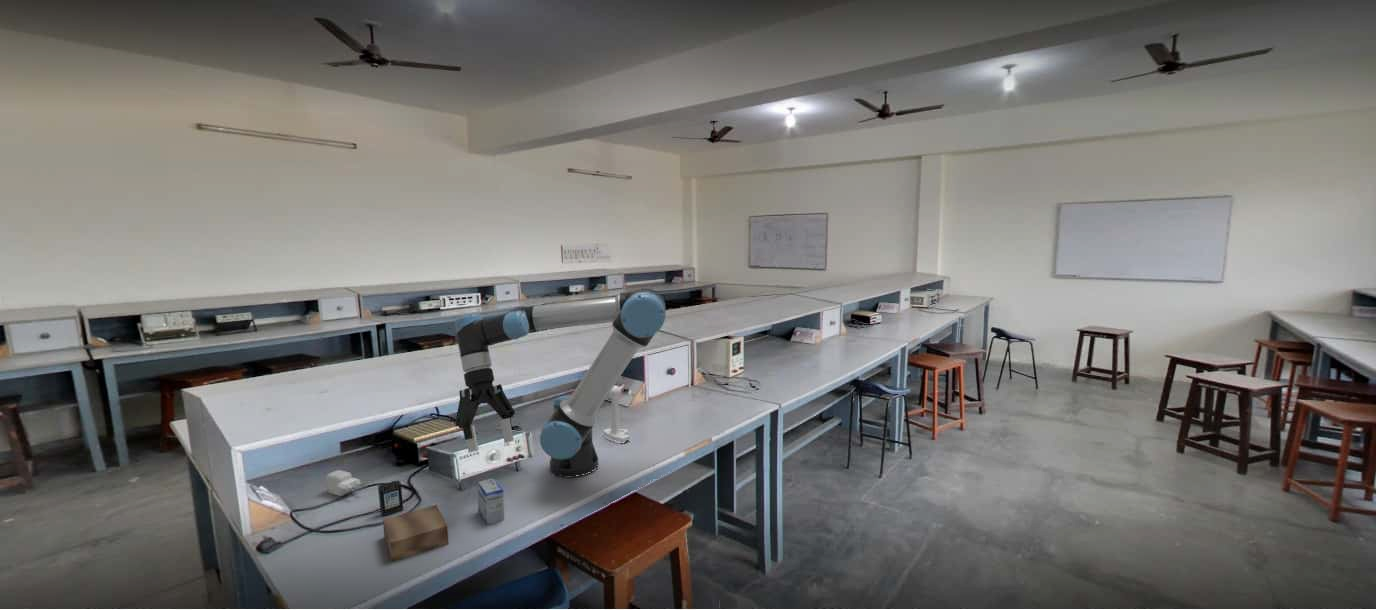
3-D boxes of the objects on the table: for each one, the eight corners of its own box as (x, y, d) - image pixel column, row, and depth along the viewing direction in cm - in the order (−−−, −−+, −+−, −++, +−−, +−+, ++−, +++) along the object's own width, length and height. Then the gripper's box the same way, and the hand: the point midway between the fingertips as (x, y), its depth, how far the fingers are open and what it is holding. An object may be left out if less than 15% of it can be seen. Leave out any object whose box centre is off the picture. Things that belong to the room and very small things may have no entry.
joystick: (600, 436, 194) (600, 383, 191) (616, 431, 199) (616, 379, 196) (620, 445, 186) (620, 390, 183) (636, 439, 192) (636, 385, 189)
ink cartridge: (382, 517, 138) (379, 488, 137) (380, 513, 140) (377, 485, 139) (403, 510, 142) (400, 482, 140) (401, 507, 143) (398, 479, 142)
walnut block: (437, 523, 137) (436, 504, 136) (448, 545, 127) (447, 525, 126) (384, 538, 129) (382, 519, 129) (391, 563, 120) (390, 542, 119)
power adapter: (369, 494, 150) (367, 474, 149) (352, 502, 146) (351, 482, 145) (341, 486, 154) (339, 467, 153) (324, 494, 150) (323, 474, 149)
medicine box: (478, 512, 141) (476, 481, 140) (495, 507, 144) (493, 477, 143) (487, 525, 135) (485, 493, 134) (504, 520, 138) (503, 488, 136)
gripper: (498, 371, 160) (512, 440, 157) (431, 376, 137) (445, 458, 134) (518, 364, 158) (532, 435, 154) (453, 369, 135) (468, 452, 131)
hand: (492, 446), depth 144 cm, fingers open, 13 cm apart
